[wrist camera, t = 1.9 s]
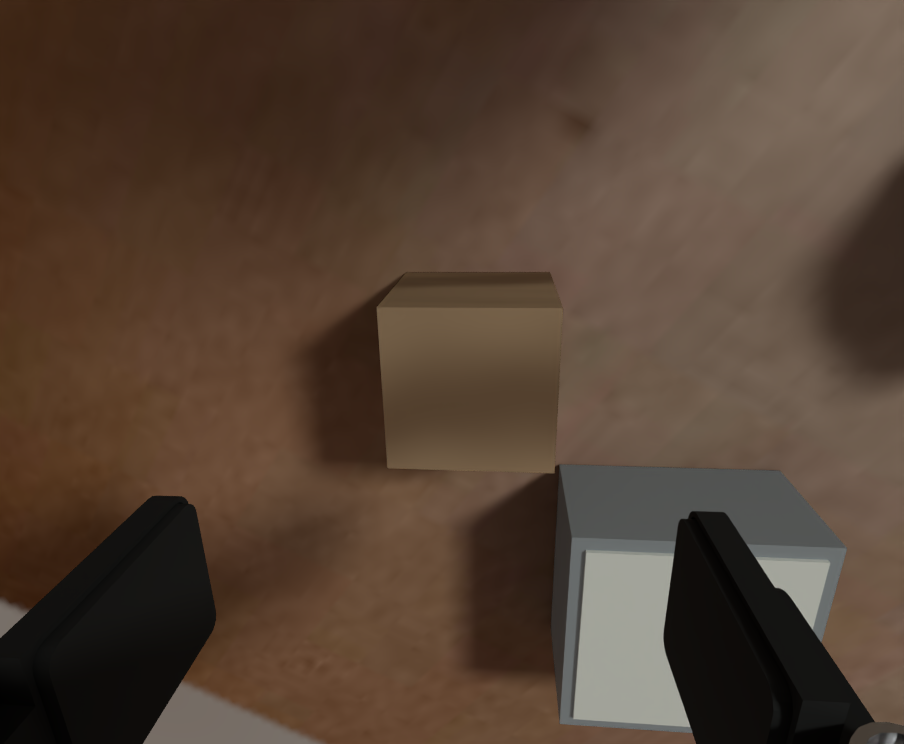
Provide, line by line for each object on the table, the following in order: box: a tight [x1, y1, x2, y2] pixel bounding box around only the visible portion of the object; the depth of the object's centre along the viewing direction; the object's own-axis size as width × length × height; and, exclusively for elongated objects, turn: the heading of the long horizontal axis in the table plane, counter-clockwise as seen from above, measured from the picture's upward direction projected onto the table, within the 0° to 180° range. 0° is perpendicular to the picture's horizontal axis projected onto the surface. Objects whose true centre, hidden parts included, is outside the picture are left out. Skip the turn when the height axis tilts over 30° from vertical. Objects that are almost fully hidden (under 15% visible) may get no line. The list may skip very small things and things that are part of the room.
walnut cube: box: [377, 272, 563, 473], centre depth 20 cm, size 6×6×6 cm
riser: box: [551, 465, 847, 733], centre depth 23 cm, size 9×9×5 cm
